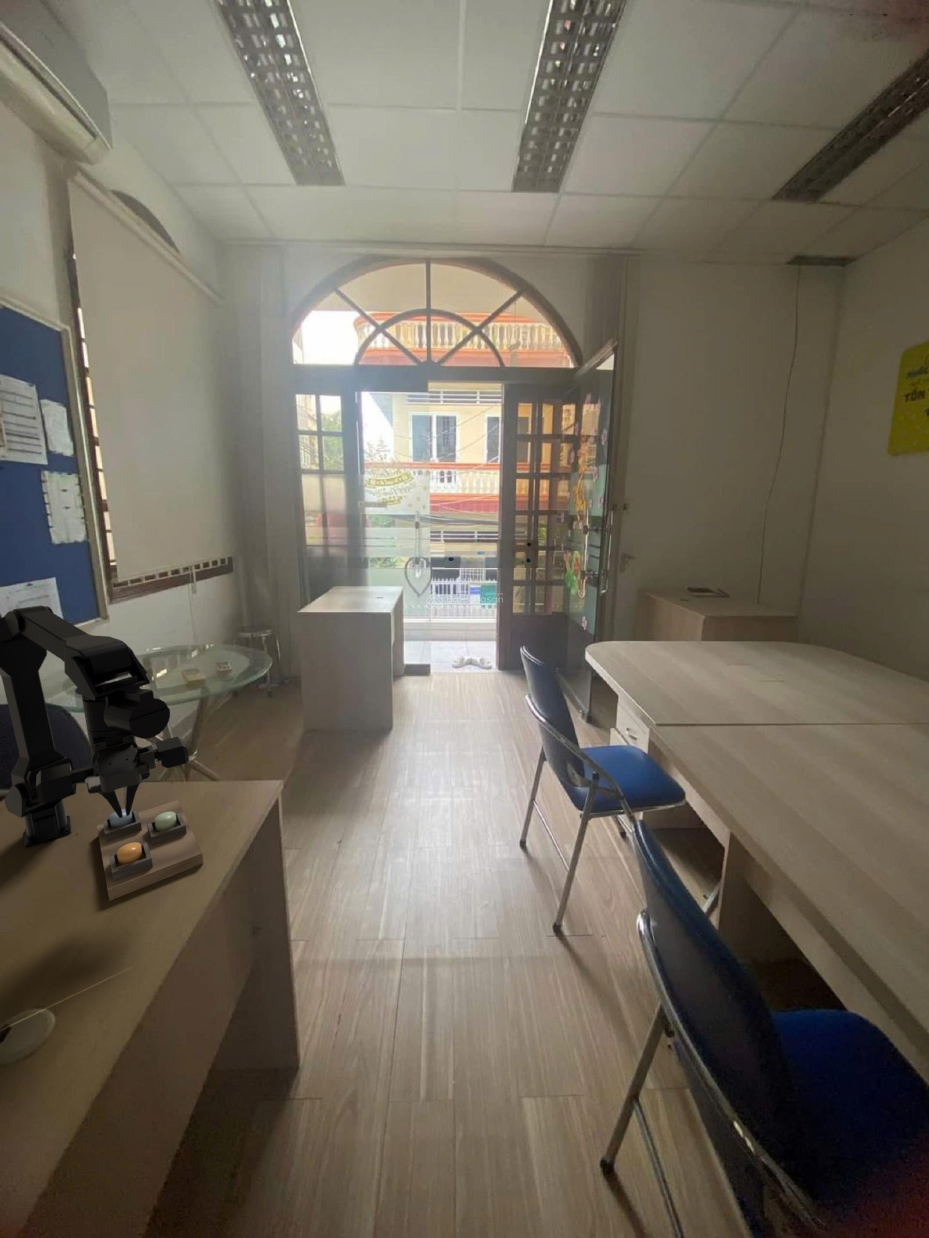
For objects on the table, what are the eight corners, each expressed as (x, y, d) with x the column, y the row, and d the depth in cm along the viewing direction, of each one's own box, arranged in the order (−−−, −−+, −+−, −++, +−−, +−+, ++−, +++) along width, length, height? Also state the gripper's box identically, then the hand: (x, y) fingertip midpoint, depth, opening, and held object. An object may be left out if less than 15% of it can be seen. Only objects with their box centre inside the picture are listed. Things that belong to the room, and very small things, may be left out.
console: (98, 835, 89) (95, 817, 88) (179, 808, 97) (177, 792, 97) (109, 901, 74) (106, 880, 74) (203, 863, 83) (201, 844, 82)
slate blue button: (109, 821, 88) (108, 813, 88) (131, 814, 90) (130, 806, 90) (111, 829, 86) (110, 821, 85) (133, 822, 88) (132, 814, 87)
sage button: (154, 824, 87) (153, 816, 87) (174, 817, 89) (173, 809, 89) (157, 833, 85) (156, 824, 84) (178, 825, 87) (177, 817, 87)
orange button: (117, 856, 79) (115, 847, 79) (140, 848, 81) (139, 839, 81) (119, 867, 77) (118, 858, 76) (143, 858, 79) (142, 849, 78)
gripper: (27, 764, 62) (47, 870, 65) (191, 725, 74) (201, 817, 77) (29, 733, 70) (47, 829, 74) (176, 703, 82) (186, 787, 85)
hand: (124, 815), depth 77 cm, fingers closed
